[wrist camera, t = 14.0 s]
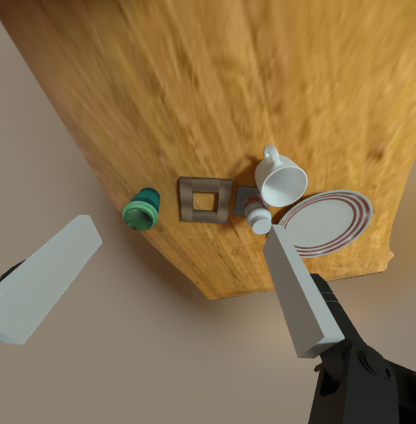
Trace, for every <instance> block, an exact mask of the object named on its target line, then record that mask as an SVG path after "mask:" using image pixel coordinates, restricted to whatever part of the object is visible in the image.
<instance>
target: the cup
mask: <svg viewBox="0 0 416 424" xmlns="http://www.w3.org/2000/svg"><path fill="white" fill-rule="evenodd" d="M159 200H160V196H159V194H158V192H157V191H156V190H154V189H152V188H144V189H142V190H141V191H140V192H139V193H138V194H137V195H136V196H135V197H134V198H133V199H132V200H131V201H130V203H128V204H127V205H126V206H125V207H124V209H123V213H122V215H123V219H124V220H125V222H126V224H127V225H128V226H130V227H131V228H133V229H135V230H139V231H144V230H148V229H150V228H152V227H153V226H154V225H155V224H156V223H157V220H158V211H159V203H160V201H159Z"/></svg>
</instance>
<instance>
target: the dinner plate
mask: <svg viewBox="0 0 416 424" xmlns="http://www.w3.org/2000/svg"><path fill="white" fill-rule="evenodd" d="M372 214H373V209H372V205H371V202H370V201H369V200H368V198H367V197H365V196H364V195H362V194H360V193H358V192H355V191H350V190H334V191H327V192H323V193H320V194H317V195H314V196H311V197H309V198H307V199H305V200H303V201H301V202H300V203H298V204H297V205H295V206H294V207H292V208H291V209H290V210H289V211H288V212H287V213H286V214H285V215H284V216H283V217H282V219H281V220H280V222H279V223H278V225H283V227H284V229H285V230H286V232H287V234H288V236H289V238H290V239H291V241H292V243H293V245H294V247H295V249H296V250H297V252H298V254H299V256H300V257H302V258H309V257H317V256H322V255H326V254H329V253H332V252H334V251H337V250H339V249H341V248H343V247H345V246H346V245H348V244H350V243H351V242H352V241H354V240H355V239H356V238H357V237H359V236H360V235H361V234H362V233H363V232H364V230H365V229H366V228H367V226H368V225H369V223H370V221H371V218H372Z"/></svg>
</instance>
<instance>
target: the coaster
mask: <svg viewBox="0 0 416 424" xmlns="http://www.w3.org/2000/svg"><path fill="white" fill-rule="evenodd" d="M250 195H259V196H261V193H260V191H259V189H258V187H246V186H238V190H237V196H236V202H235V208H234V214H233V215H234V216H245V213H244V210H243V201H244V199H245V198H246V197H248V196H250ZM261 197H262V196H261ZM264 202H265V201H264ZM265 204H266V206H267V208H268V207H269V204H267V203H266V202H265Z"/></svg>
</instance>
